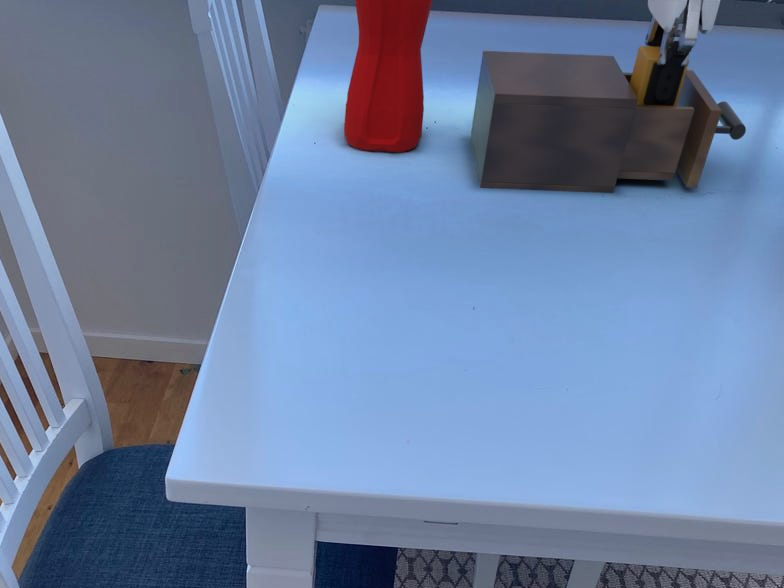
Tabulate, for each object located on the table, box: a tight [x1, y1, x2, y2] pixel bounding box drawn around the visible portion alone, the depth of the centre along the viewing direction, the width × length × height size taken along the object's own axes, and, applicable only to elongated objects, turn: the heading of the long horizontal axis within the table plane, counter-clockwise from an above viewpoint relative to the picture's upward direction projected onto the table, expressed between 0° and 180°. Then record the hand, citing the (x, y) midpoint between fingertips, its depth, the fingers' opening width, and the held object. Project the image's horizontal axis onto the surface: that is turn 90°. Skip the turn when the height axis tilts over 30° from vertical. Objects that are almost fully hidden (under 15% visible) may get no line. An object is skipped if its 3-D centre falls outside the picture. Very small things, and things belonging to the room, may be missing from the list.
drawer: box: [617, 69, 747, 189], centre depth 105 cm, size 18×13×8 cm
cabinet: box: [469, 50, 638, 194], centre depth 105 cm, size 15×14×10 cm
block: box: [630, 45, 690, 106], centre depth 102 cm, size 4×4×4 cm
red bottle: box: [343, 0, 434, 154], centre depth 105 cm, size 9×11×25 cm
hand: (653, 95), depth 103 cm, fingers closed on block, 4 cm apart
